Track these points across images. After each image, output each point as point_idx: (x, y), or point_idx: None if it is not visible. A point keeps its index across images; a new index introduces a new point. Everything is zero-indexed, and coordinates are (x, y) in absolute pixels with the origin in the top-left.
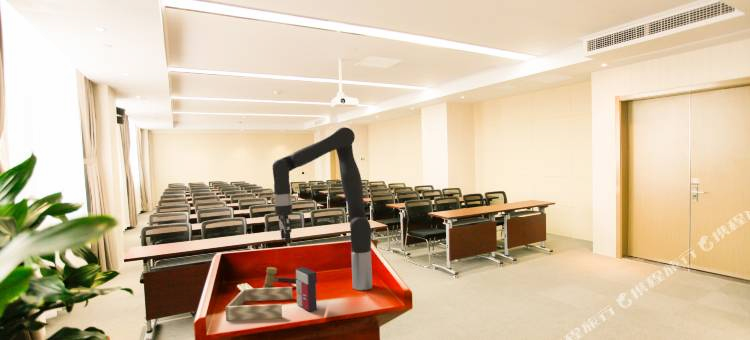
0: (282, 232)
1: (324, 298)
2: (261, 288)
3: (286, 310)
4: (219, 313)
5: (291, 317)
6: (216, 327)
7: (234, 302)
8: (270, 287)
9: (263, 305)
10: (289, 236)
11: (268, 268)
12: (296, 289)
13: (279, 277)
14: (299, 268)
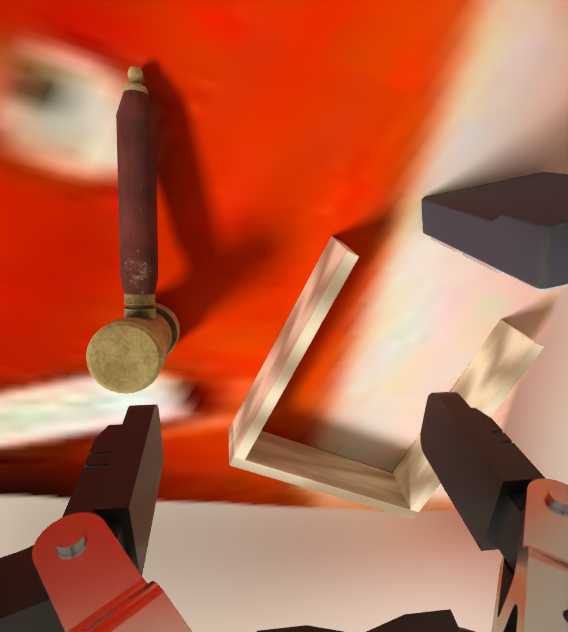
0: (146, 529)
1: (440, 75)
2: (274, 394)
3: (453, 292)
4: (318, 500)
5: (531, 289)
6: (429, 502)
7: (360, 489)
8: (177, 327)
9: (496, 406)
10: (518, 453)
11: (142, 387)
12: (469, 256)
13: (139, 286)
14: (561, 268)
